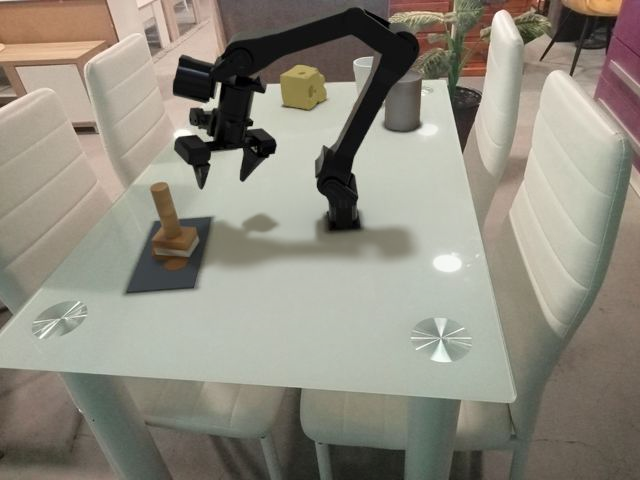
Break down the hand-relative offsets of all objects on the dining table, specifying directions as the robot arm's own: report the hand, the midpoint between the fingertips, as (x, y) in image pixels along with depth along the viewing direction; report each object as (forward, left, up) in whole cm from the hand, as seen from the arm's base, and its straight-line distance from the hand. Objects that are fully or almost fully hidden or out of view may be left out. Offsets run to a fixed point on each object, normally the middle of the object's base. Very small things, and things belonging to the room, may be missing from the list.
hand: (221, 184), depth 92 cm
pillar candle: (+44, -43, -11) cm, 63 cm away
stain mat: (-7, +11, -10) cm, 16 cm away
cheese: (+66, -16, -11) cm, 69 cm away
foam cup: (+60, -36, -11) cm, 71 cm away
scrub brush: (-6, +10, -10) cm, 15 cm away
